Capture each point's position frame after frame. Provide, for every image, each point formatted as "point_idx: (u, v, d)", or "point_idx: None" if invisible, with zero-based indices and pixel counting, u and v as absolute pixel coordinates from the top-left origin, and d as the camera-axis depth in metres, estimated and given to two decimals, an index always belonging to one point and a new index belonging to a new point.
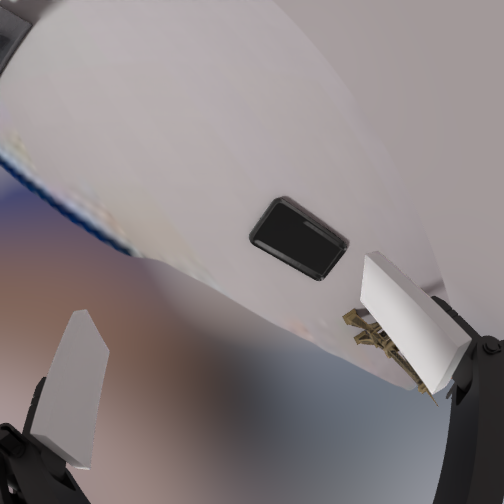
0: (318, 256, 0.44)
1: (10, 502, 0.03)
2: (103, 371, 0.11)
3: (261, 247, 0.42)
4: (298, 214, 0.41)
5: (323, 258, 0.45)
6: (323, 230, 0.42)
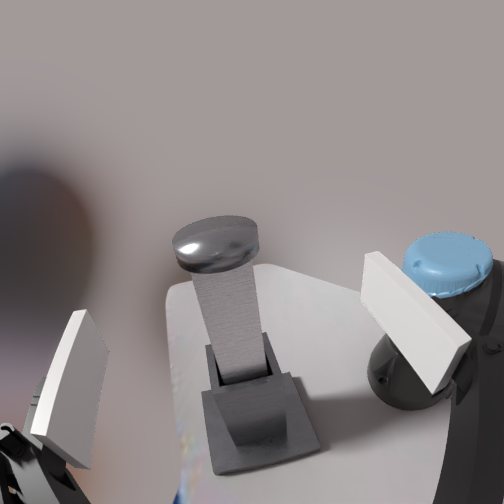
0: None
1: (10, 502, 0.03)
2: (103, 371, 0.11)
3: None
4: None
5: None
6: None
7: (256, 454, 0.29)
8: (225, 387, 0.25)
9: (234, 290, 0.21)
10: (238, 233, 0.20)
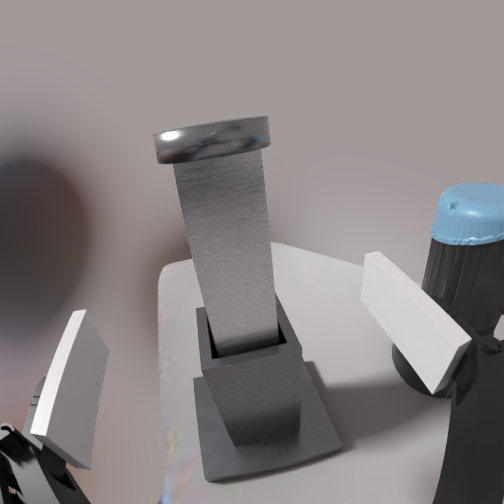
0: None
1: (10, 502, 0.03)
2: (103, 371, 0.11)
3: None
4: None
5: None
6: None
7: (260, 456, 0.23)
8: (220, 360, 0.18)
9: (235, 198, 0.15)
10: None
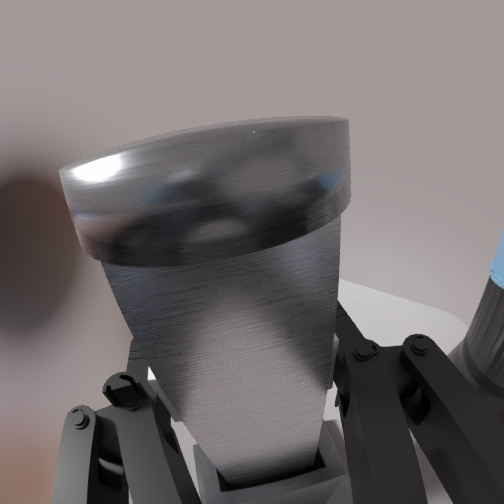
0: None
1: (96, 479, 0.05)
2: None
3: None
4: None
5: None
6: None
7: None
8: (232, 494, 0.10)
9: (268, 328, 0.06)
10: (286, 121, 0.05)
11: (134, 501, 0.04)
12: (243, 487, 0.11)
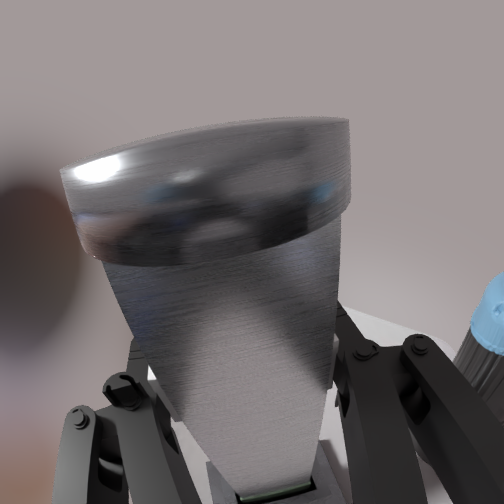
0: None
1: (96, 479, 0.05)
2: None
3: None
4: None
5: None
6: None
7: None
8: None
9: (268, 328, 0.06)
10: (286, 121, 0.05)
11: (134, 501, 0.04)
12: (243, 487, 0.11)
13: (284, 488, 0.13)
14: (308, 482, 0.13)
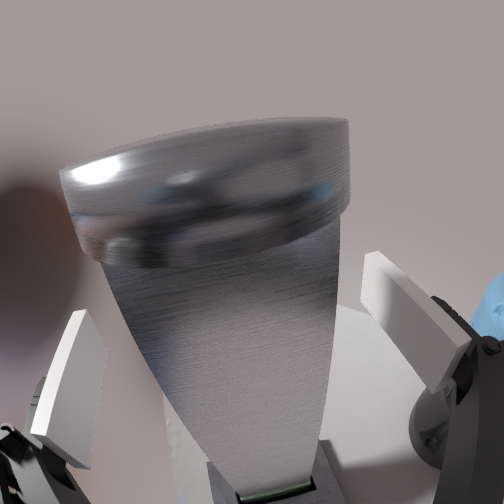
0: None
1: (10, 502, 0.03)
2: (103, 371, 0.11)
3: None
4: None
5: None
6: None
7: None
8: None
9: (268, 328, 0.06)
10: (285, 122, 0.05)
11: None
12: (243, 487, 0.11)
13: (284, 488, 0.13)
14: (308, 482, 0.13)
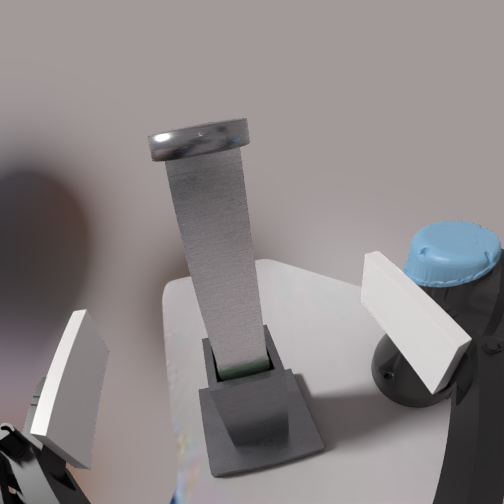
0: None
1: (10, 502, 0.03)
2: (103, 371, 0.11)
3: None
4: None
5: None
6: None
7: (256, 455, 0.28)
8: (223, 383, 0.23)
9: (218, 189, 0.17)
10: (224, 121, 0.16)
11: None
12: (217, 343, 0.22)
13: (248, 359, 0.24)
14: (266, 357, 0.24)
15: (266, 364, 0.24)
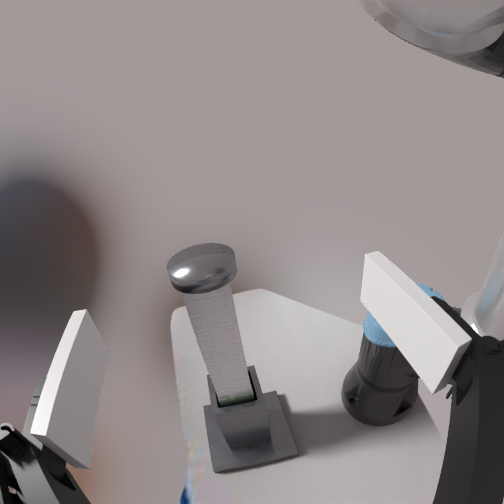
0: None
1: (10, 502, 0.03)
2: (103, 371, 0.11)
3: None
4: None
5: None
6: None
7: (247, 457, 0.37)
8: (222, 408, 0.33)
9: (216, 306, 0.26)
10: (219, 261, 0.25)
11: None
12: (218, 385, 0.32)
13: (239, 394, 0.33)
14: (252, 392, 0.33)
15: (252, 396, 0.34)
